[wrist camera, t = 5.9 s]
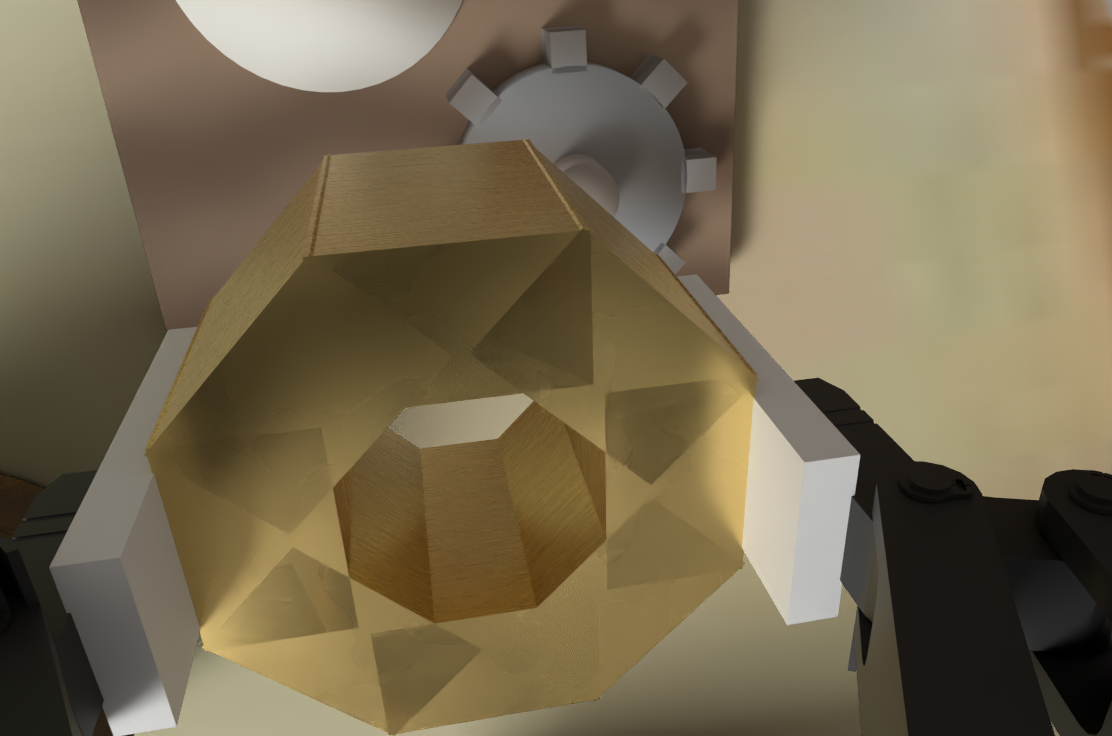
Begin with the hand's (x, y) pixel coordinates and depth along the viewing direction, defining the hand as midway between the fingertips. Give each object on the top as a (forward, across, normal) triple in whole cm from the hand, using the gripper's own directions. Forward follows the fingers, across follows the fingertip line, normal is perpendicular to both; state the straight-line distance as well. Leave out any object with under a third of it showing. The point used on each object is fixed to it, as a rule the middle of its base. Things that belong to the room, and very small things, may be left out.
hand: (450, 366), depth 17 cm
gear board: (+16, -1, -7) cm, 18 cm away
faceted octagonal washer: (0, 0, 0) cm, 0 cm away
